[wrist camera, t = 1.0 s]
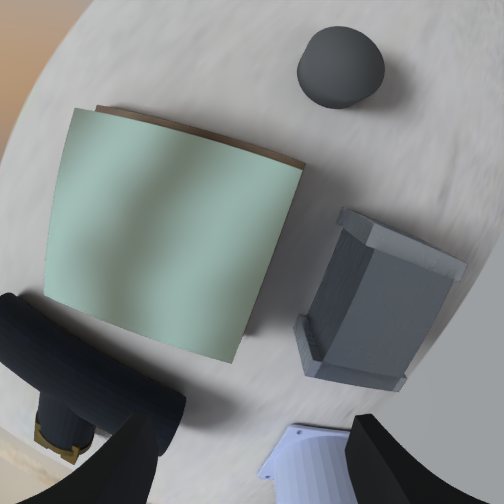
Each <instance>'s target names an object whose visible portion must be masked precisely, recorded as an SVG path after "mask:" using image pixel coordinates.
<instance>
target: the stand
mask: <svg viewBox="0 0 504 504" xmlns="http://www.w3.org/2000/svg"><path fill="white" fill-rule="evenodd" d="M305 164H306V163H303V162H301V161H298V160H295V159H292V158H290V157H287V156H284V155H281V154H278V153H275V152H272V151H269V150H266V149H263V148H260V147H257V146H254V145H251V144H248V143H245V142H242V141H239V140H235V139H232V138H229V137H226V136H222V135H219V134H216V133H212V132H209V131H205V130H202V129H198V128H194V127H191V126H187V125H183V124H180V123H176V122H172V121H168V120H164V119H160V118H156V117H152V116H147V115H143V114H139V113H134V112H130V111H125V110H121V109H116V108H111V107H106V106H101V105H97V106H96V109H95V111H90V110H85V109H79V108H75V109H74V113H73V116H72V119H71V123H70V126H69V130H68V134H67V138H66V141H65V145H64V149H63V154H62V158H61V162H60V167H59V171H58V176H57V181H56V187H55V192H54V198H53V204H52V210H51V217H50V224H49V232H48V240H47V250H46V261H45V275H44V295H45V296H47V297H49V298H51V299H54V300H56V301H58V302H60V303H62V304H65V305H67V306H69V307H71V308H74V309H76V310H78V311H81V312H83V313H86V314H88V315H90V316H93V317H95V318H98V319H100V320H103V321H105V322H108V323H110V324H113V325H115V326H118V327H121V328H123V329H126V330H129V331H131V332H134V333H137V334H139V335H142V336H145V337H148V338H151V339H154V340H156V341H159V342H162V343H165V344H168V345H171V346H174V347H177V348H180V349H184V350H187V351H190V352H193V353H196V354H200V355H203V356H206V357H210V358H213V359H217V360H220V361H224V362H227V363H231V364H232V362H233V359H234V356H235V354H236V351H237V349H238V346H239V343H240V342H241V339H242V336H243V334H244V331H245V329H246V326H247V323H248V321H249V318H250V315H251V313H252V310H253V307H254V305H255V302H256V299H257V297H258V294H259V291H260V289H261V286H262V283H263V280H264V278H265V275H266V272H267V270H268V267H269V264H270V261H271V259H272V256H273V253H274V251H275V248H276V245H277V242H278V240H279V237H280V234H281V231H282V228H283V226H284V223H285V220H286V217H287V215H288V212H289V209H290V206H291V203H292V201H293V198H294V195H295V192H296V189H297V186H298V184H299V181H300V178H301V175H302V172H303V169H304V166H305Z"/></svg>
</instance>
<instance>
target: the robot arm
mask: <svg viewBox="0 0 504 504" xmlns="http://www.w3.org/2000/svg"><path fill="white" fill-rule="evenodd" d="M299 430H301V431H299ZM158 455H159V446H158V443H157V440H156V436H155V433H154V429H153V426H152V422H151V418H150V415H148V414H140V413H133V414H131V415H130V417H129V418H128V419H127V420H126V421H125V422H124V423H123V424H122V425H121V427H120V428H119V429H118V430H117V431H116V432H115V433H114V434H113V435H112V436H111V437H110V438H109V440H108V441H107V442H106V443H105V444H104V445H103V446H102V447H101V448H100V449H99V450H98V451H97V452H95V453H94V454H93V455H92V456H91V457H90V458H89V459H88V460H87V461H85V462H84V463H83V464H82V465H81V466H80V467H79V468H77V469H76V470H75V471H74V472H72V473H71V474H70V475H68V476H67V477H65V478H64V479H62V480H61V481H59V482H58V483H56V484H55V485H53V486H51V487H50V488H48V489H46V490H45V491H43V492H41V493H39V494H37V495H35V496H33V497H30V498H28V499H26V500H24V501H22V502H19V503H17V504H146V501H147V498H148V495H149V492H150V489H151V485H152V482H153V479H154V476H155V472H156V467H157V461H158ZM258 478H260V479H267V480H274V481H275V496H276V504H489V503H486V502H484V501H481V500H478V499H476V498H474V497H472V496H470V495H468V494H466V493H464V492H462V491H460V490H458V489H456V488H454V487H452V486H451V485H449V484H448V483H446V482H444V481H443V480H442V479H440V478H439V477H437V476H436V475H434V474H433V473H432V472H430V471H429V470H428V469H427V468H425V467H424V466H423V465H422V464H421V463H420V462H418V461H417V460H416V459H415V458H414V457H413V456H412V455H411V454H409V453H408V452H407V451H406V450H405V449H404V448H403V447H402V446H401V445H400V444H399V443H398V442H397V441H396V440H395V439H394V438H393V437H392V435H391V434H390V433H389V432H388V431H387V430H386V429H385V428H384V427H383V426H382V425H381V424H380V423H379V421H378V420H377V419H376V418H375V417H374V416H373V415H372V414H364V415H356V416H355V418H354V421H353V425H352V428H351V431H350V432H349V431H339V430H331V429H323V428H316V427H309V426H302V425H296V424H293V425H290V426H289V427H288V428H287V429H286V431H285V433H284V434H283V436H282V437H281V439H280V440H279V442H278V444H277V445H276V447H275V448H274V450H273V451H272V453H271V454H270V456H269V457H268V459H267V460H266V462H265V463H264V465H263V466H262V468H261V469H260V470H259V472H258Z"/></svg>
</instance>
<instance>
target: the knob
mask: <svg viewBox="0 0 504 504" xmlns="http://www.w3.org/2000/svg"><path fill="white" fill-rule="evenodd" d="M384 72H385V67H384V61H383V58H382V55H381V53H380V51H379V49H378V48H377V46H376V45H375V44H374V43H373V42H372V41H371V40H370V39H369V38H368V37H367V36H366V35H364V34H363V33H361V32H359V31H357V30H354V29H352V28H348V27H342V26H334V27H329V28H325V29H323V30H321V31H319V32H318V33H316V34H315V35H314V36H313V37H312V38H311V40H310V41H309V43H308V45H307V47H306V49H305V51H304V53H303V55H302V57H301V59H300V62H299V64H298V69H297V76H298V81H299V84H300V86H301V88H302V90H303V92H304V93H305V94H306V95H307V96H308V97H309V98H310V99H311V100H312V101H314V102H315V103H317V104H319V105H321V106H323V107H326V108H332V109H341V108H345V107H348V106H350V105H352V104H354V103H356V102H358V101H360V100H362V99H364V98H366V97H368V96H369V95H371V94H373V93H374V92H375V91H376V90H377V89H378V88H379V87H380V85H381V83H382V81H383V78H384Z"/></svg>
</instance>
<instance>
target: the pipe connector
mask: <svg viewBox="0 0 504 504" xmlns="http://www.w3.org/2000/svg"><path fill="white" fill-rule="evenodd" d="M0 362H1V363H2V364H4V365H5V366H6V367H7V368H9V369H10V370H11V371H13V372H14V373H15V374H16V375H18V376H19V377H20V378H22V379H23V380H24V381H26V382H27V383H29V384H30V385H31V386H33V387H34V388H36V389H37V390H38V391H40V397H39V406H38V411H37V413H36V419H35V432H34V441H35V442H37V443H38V444H40V445H41V446H43V447H45V448H46V449H47V448H49V449H50V450H52V451H54V452H56V453H58V454H61V458H62V459H64V460H66V461H68V462H69V463H71V464H73V465H75V463H76V461H77V459H78V457H79V455H81V454H83V453H85V452H86V451H87V450H88V449H89V448H90V446H91V444H92V441H93V438H94V430H95V427H96V426H97V427H99V428H101V429H102V430H104V431H106V432H108V433H110V434H112V435H113V434H114V433H115V432H116V431H117V430H118V429H119V428H120V427H121V425H122V424H123V423H124V422H125V421H126V420H127V419H128V418H129V417H130V415H131V414H133V413H140V414H148V415H150V418H151V422H152V426H153V429H154V433H155V436H156V440H157V443H158V446H159V455H158V456H162V455H163V454H164V453H165V451H166V450H167V448H168V447H169V445H170V443H171V441H172V439H173V437H174V435H175V433H176V431H177V428H178V426H179V423H180V421H181V418H182V415H183V412H184V408H185V404H186V397H185V396H183V395H181V394H179V393H176V392H174V391H172V390H170V389H168V388H166V387H164V386H162V385H160V384H158V383H156V382H154V381H152V380H150V379H148V378H146V377H144V376H142V375H140V374H138V373H136V372H134V371H132V370H130V369H128V368H127V367H125V366H123V365H121V364H119V363H118V362H116V361H114V360H112V359H110V358H109V357H107V356H105V355H103V354H102V353H100V352H98V351H97V350H95V349H93V348H92V347H90V346H88V345H87V344H85V343H83V342H82V341H80V340H79V339H77V338H76V337H74V336H72V335H71V334H69V333H68V332H66V331H65V330H63V329H62V328H60V327H59V326H57V325H56V324H54V323H53V322H51V321H50V320H48V319H47V318H45V317H44V316H43V315H41V314H40V313H38V312H37V311H36V310H34V309H33V308H31V307H30V306H29V305H27V304H26V303H25V302H23V301H22V300H21V299H19V298H18V297H17V296H15V295H14V294H13V293H5V294H3V295H1V296H0Z"/></svg>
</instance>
